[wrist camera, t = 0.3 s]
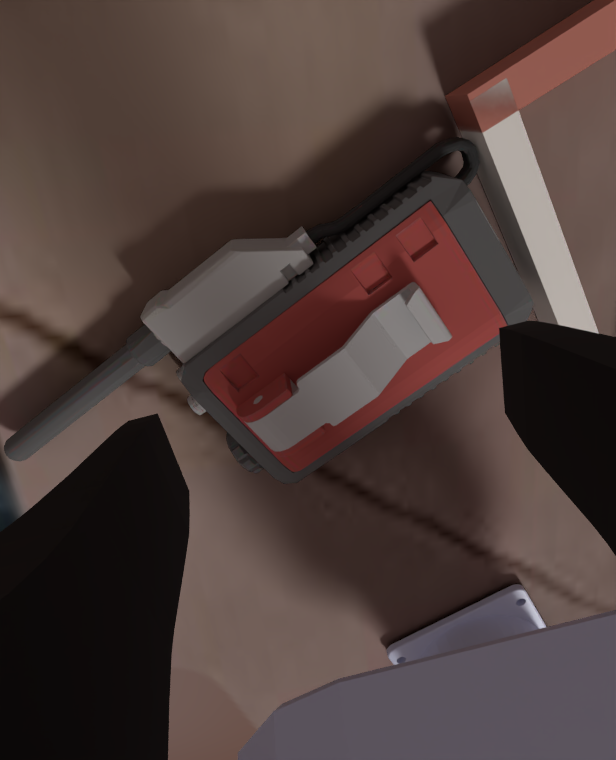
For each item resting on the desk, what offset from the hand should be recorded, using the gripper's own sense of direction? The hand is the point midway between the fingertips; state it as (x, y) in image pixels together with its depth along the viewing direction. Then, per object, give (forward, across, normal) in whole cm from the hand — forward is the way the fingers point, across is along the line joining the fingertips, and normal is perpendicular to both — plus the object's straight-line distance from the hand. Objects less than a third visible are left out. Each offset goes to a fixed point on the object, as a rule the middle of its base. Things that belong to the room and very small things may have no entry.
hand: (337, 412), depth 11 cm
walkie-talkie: (+10, +2, +2) cm, 11 cm away
